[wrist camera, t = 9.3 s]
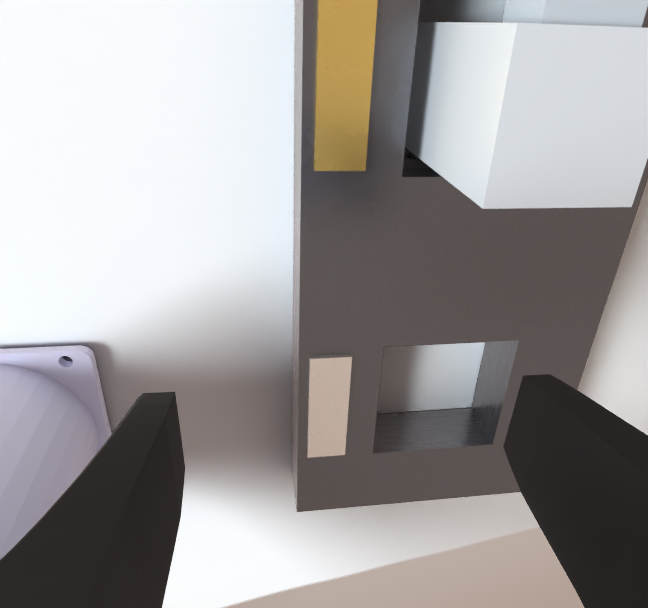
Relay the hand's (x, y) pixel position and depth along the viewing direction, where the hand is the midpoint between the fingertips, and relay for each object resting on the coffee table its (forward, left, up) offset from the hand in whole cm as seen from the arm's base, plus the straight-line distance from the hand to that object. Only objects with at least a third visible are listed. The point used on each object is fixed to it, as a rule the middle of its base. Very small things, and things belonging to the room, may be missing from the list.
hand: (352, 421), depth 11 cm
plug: (+6, +5, -10) cm, 13 cm away
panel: (+6, 0, -10) cm, 12 cm away
